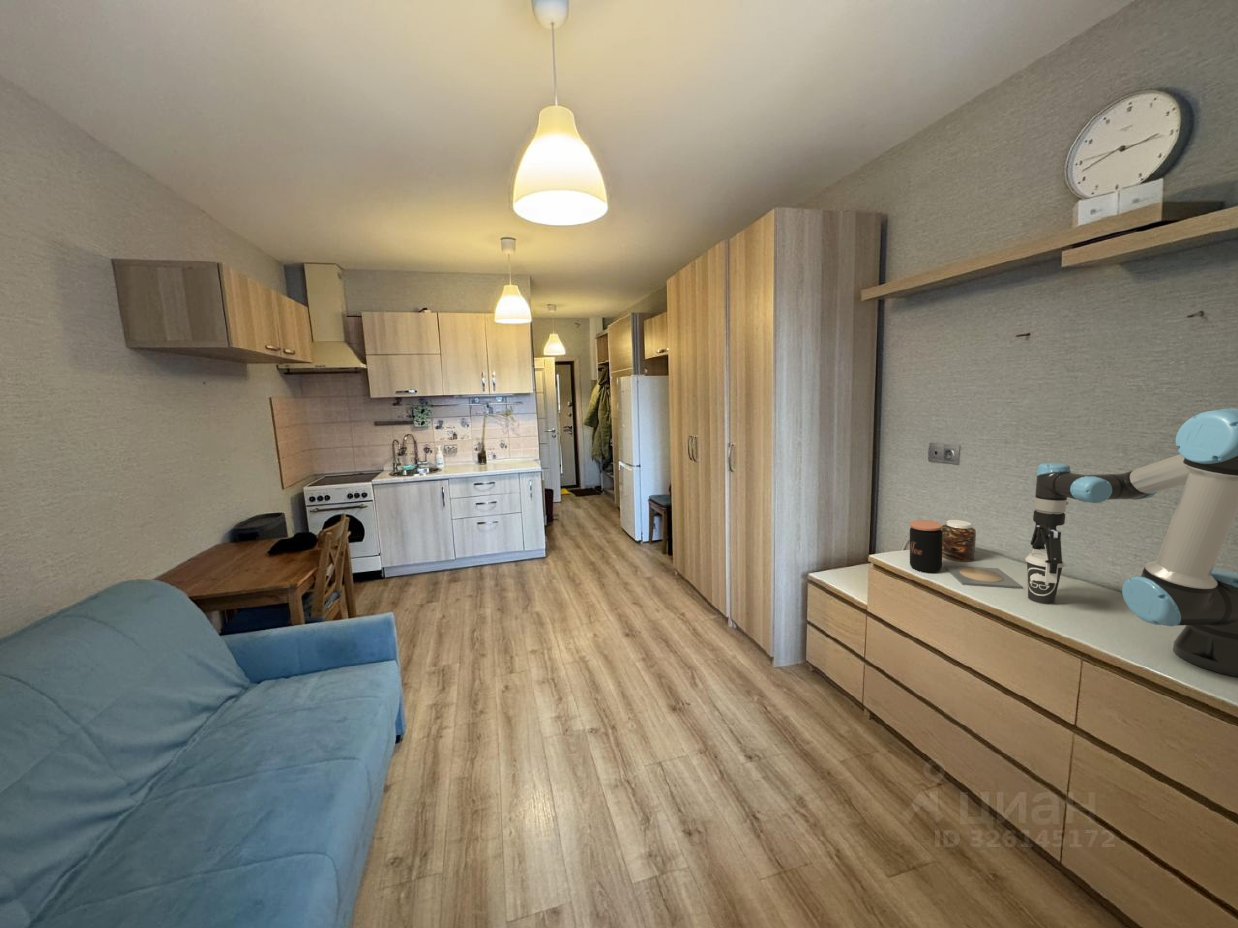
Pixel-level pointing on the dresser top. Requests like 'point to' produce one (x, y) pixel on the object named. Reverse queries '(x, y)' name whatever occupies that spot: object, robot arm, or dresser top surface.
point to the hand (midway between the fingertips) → (1043, 575)
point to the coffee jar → (926, 546)
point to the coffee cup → (1040, 579)
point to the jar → (958, 541)
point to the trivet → (982, 576)
